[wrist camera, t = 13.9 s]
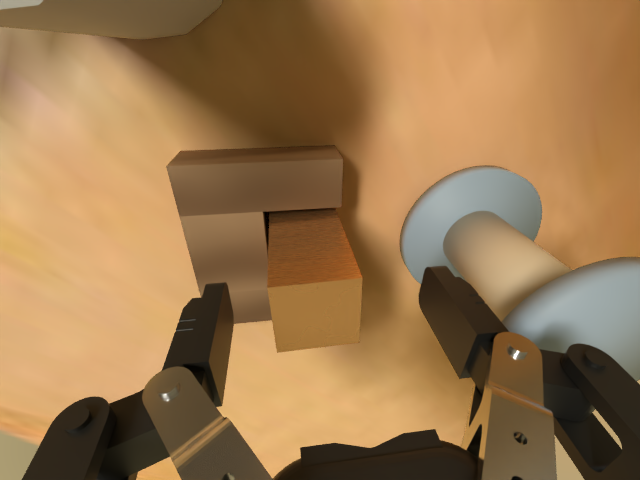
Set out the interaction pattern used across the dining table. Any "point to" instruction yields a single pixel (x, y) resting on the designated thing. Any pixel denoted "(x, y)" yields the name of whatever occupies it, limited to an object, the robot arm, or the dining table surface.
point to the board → (247, 211)
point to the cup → (108, 16)
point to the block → (312, 280)
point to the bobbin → (523, 265)
